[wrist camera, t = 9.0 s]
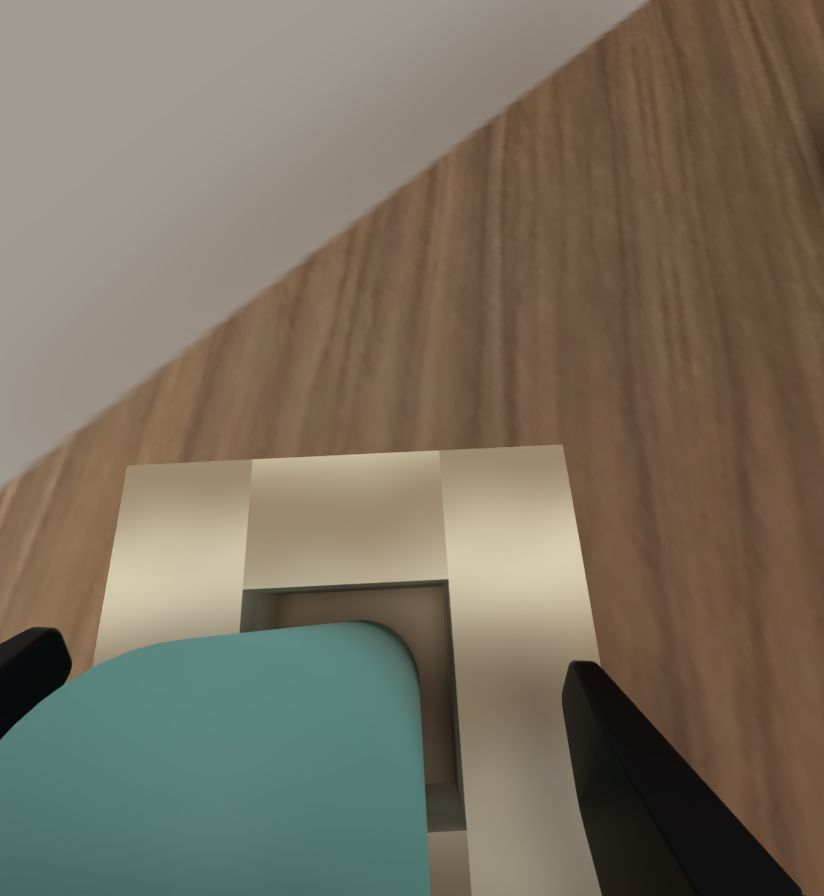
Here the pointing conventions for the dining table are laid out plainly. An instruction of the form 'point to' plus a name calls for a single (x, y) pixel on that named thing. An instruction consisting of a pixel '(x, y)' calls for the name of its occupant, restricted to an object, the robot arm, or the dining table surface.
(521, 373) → the dining table surface
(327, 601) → the cream square wooden frame
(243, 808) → the teal cylinder
